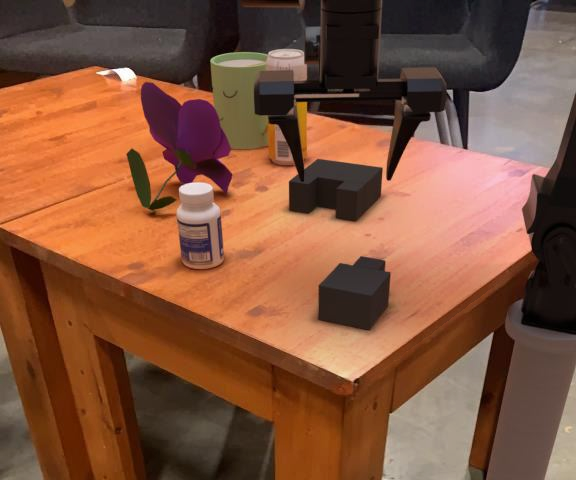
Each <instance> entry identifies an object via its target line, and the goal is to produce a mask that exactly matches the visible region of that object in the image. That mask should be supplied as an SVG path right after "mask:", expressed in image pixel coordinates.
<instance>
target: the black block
mask: <svg viewBox="0 0 576 480" xmlns="http://www.w3.org/2000/svg"><path fill="white" fill-rule="evenodd" d="M386 263H387V261H386V260H385V259H380V258H374V257H368V256H363V255H361V256H360V257H358V258H357V260H356V261H355V262H354V263H353V264H348V263H343V262H339V263H337V265H336V266H335V267H334V268H333V270H332V271H331V272H329V273H328V275H327V276H326V277H325V278H324V279H323V280H322V281H321V282H320V283H319V285H318V300H317V301H318V307H317V308H318V311H317V319H318V320H320V321H325V322H329V323H334V324H339V325H343V326H348V327H353V328H356V329H357V328H358V329H362V330H368V331H370V330H371V329H372V328H373V326H374V325H375V324H376V322H377V321H378V320H379V318H380V317H381V316H382V314H384V312H385V311H386V309H387V308H388V307H389V299H390V287H391V274H392V272H391V271H387V270H386Z"/></svg>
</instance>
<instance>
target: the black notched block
mask: <svg viewBox="0 0 576 480" xmlns="http://www.w3.org/2000/svg"><path fill="white" fill-rule="evenodd" d="M383 168H384V167H382V166H373V165H367V164H360V163H352V162H345V161H337V160H331V159H323V158H316V159H315V160H314V161H312V162H311V163H310V164H309V165H307V167H304V171H305V172H304V182H301V181H300V178H299V175H298V173H297V174H296V175H295V176H293V177H292V178H291V179H289V181H288V210H289V211H291V212H296V213H302V214H308V215H309V214H310V213H311V212H312V211H313V210H315V209H316V208H317V207H321V208H326V209H327V208H328V209H334V210H335V218H336V219H341V220H347V221H353V222H357V221H358V220H359V219H360V218H361V217H362V216H363V215H364V214H365V213H366V212H367V211H368V210H369V209H370V208H371V207H372V206H373V204H375V203H376V202H377V201H378V200H379V199H380V198H381V197H382V186H383V184H382V183H383V172H384V171H383V170H384V169H383Z"/></svg>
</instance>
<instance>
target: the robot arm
mask: <svg viewBox="0 0 576 480" xmlns="http://www.w3.org/2000/svg"><path fill="white" fill-rule="evenodd" d="M304 1H305V0H239V2H240V5H241V7H243V8H302V7H303V5H304ZM382 12H383V0H320V26H304V27H303V52H304V64H307V65H317V66H318V68H317V74H318V77H319V79H318V80H317V79H316V80H315V79H314V80H312V79H311V80H307V81H294V75H293V70H270V71H260V72H259V73H258V74H257V75H256V77H255V81H254V110H255V114H256V115H260V116H262V115H268V123H269V124H277V125H278V126H279V128H280V130H281V132H282V134H283V136H284V138H285V140H286V142H287V144H288V146H289V148H290V151H291V154H292V157H293V160H294V163H295V165H294V166H295V168H296V172H297V174H298V175H299V178H300V181H301V182H304V172H305V171H304V169H305V160H304V159H305V158H304V159H303V151H302V144H301V136H300V128H299V120H298V112H297V103H296V102H307V103H326V102H329V103H330V102H332V103H333V102H377V101H378V102H381V101H382V102H383V101H384V102H385V101H394V102H395V103H394V113H393V114H394V116H393V124H392V129H391V135H390V140H389V141H390V142H389V147H388V153H387V159H386V169H385V170H386V174H385V179H386V181H387V182H388V181H389V182H391V181H392V179H393V176H394V174H395V173H396V170H397V168H398V165H399V163H400V161H401V159H402V158H403V157H402V156H403V155H404V152H405V150H406V148H407V146H408V145H409V143H410V141H411V139H412V137H413V136H414V135H415V133H416V131H417V129H418V128H419V126H420V124H421V123H423V122H430V121H431V119H432V118H431V117H432V115H431V113H442V112H445V111H446V102H447V94H448V87H447V83H446V81H445V79H444V78H443V76H442V74H441V73H440V72H439V70H438V69H437V68H436V67H435V66H429V67H401V70H400V75H399V78H379V68H380V67H379V66H380V52H381V51H380V49H381V34H382V33H381V31H382V14H383V13H382ZM328 90H330V91H328ZM331 90H333V91H331ZM335 90H337V91H335ZM360 90H361V91H360ZM571 103H572V104H571V106H570V110H569V114H568V117H567V121H566V124H565V127H564V131H563V134H562V137H561V141H560V145H559V148H558V151H557V155H556V158H555V160H554V162H553V164H551V167H550V169H549V170H548V171H547V173H546V175H545V176H542V175H539V174H536V173H533V174H532V175H531V179H530V188H529V194H528V197H527V199H526V202H525V204H524V205H523V206H522V208H521V212H522V217H523V221H524V228H525V232H526V235H528V238H529V243H530V248H531V252H532V253H533V255H534V257H535V258H536V259H537V260H538V261H537V263H536V265H535V267H534V269H533V270H531V271H530V272H529V273H530V274H529V275H528V277H527V279H526V284H525V288H524V293H523V298H522V299H523V302H522V307H521V312H522V313H524V315H523V317H522V319H521V324H523V325H527V326H532V327H537V328H542V329H547V330H552V331H557V332H563V333H568V334H573V335H576V92H575V94H574V96H573V100H572V102H571Z"/></svg>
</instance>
